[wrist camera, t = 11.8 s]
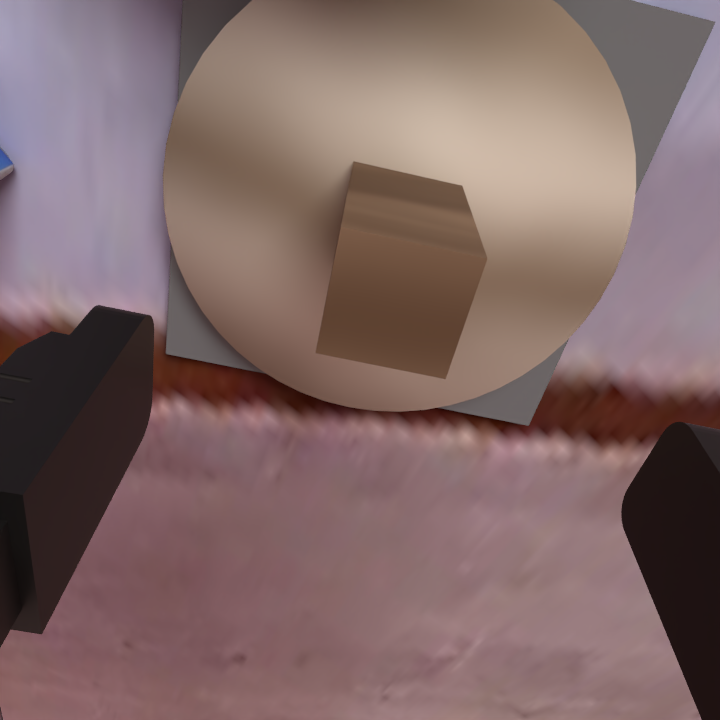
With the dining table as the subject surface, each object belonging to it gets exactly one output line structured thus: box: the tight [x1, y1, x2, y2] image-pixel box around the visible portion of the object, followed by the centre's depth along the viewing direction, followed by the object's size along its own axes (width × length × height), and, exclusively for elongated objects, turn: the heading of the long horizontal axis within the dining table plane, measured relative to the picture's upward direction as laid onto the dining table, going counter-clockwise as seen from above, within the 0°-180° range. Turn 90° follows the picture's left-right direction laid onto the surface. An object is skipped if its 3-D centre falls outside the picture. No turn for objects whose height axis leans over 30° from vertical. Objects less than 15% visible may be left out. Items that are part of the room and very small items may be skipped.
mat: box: [166, 0, 715, 426], centre depth 18 cm, size 13×13×1 cm
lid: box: [163, 0, 636, 412], centre depth 15 cm, size 13×13×6 cm
